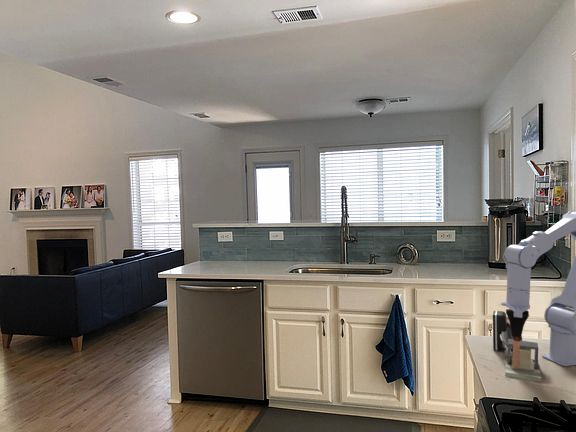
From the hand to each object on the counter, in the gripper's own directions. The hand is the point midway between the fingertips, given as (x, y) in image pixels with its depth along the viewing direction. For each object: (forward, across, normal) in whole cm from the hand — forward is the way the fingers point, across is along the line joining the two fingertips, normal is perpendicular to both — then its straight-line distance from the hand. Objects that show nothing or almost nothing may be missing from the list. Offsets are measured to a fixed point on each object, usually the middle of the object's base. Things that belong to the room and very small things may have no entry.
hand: (516, 336), depth 126 cm
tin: (+9, -19, -1) cm, 21 cm away
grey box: (+8, -1, +2) cm, 8 cm away
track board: (+9, +1, +2) cm, 9 cm away
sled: (+8, 0, +2) cm, 8 cm away
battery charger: (+9, -15, -4) cm, 18 cm away
